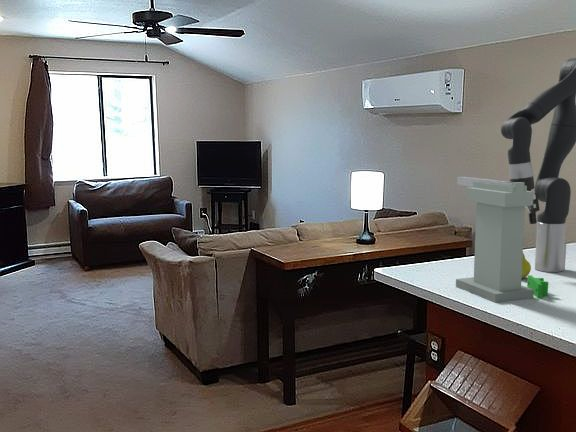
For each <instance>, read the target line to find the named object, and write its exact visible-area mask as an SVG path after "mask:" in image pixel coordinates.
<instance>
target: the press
mask: <svg viewBox="0 0 576 432" xmlns="http://www.w3.org/2000/svg"><path fill="white" fill-rule="evenodd" d="M465 189H466V190H465V191H466V193H465V201H467V202H474V203H476V209H475V212H476V213H475V233H474V234H475V236H474V237H475V238H474V259H473V261H474V263H473V264H474V265H473V277H462V278H456V279H455V288H458V289H461V290H463V291H465V292H468V293H471V294H473V295H476V296H477V297H481V298H483V299H484V300H485V299H486V300H488V301H490V302H493V303H501V302H509V301H515V300H516V301H519V300H524V299H534V297H535V295H534V289H531V288H528V287H527V286H524V285H522V279H523V278H522V258H523V253H524V239H525V238H524V236H525V235H524V234H525V218H526V217H525V214H526V208H525V206H530V205H533V201H534V200H533V194H534V191H532V190H531V191H527V186H524V182H513V183H512V186H508V185H499V184H491V183H482V182H473V187H466V188H465Z"/></svg>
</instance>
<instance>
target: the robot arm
mask: <svg viewBox="0 0 576 432" xmlns="http://www.w3.org/2000/svg"><path fill="white" fill-rule="evenodd" d="M553 110H554V111H553ZM551 111H553V115H552V120H551V123H550V128H549V133H548V138H547V143H546V145H545V146H546V147H545V150H544V155H543V157H542V158H543V159H542V163H541V165H540V168H539V169H540V170H539V172H538V175H537V177H536V181H534V169H533V166H532V162H531V161H532V159H531V153H530V152H531V151H530V147H531V144H532V134H533V127H532V125H534V124H537V123H539V122H541V120H543V119H544V118H545V117H546V116H547V115H548V114H549V113H550V112H551ZM500 133H501V135H502V137H504V138H505V139H506V140H512V146H511V147H509V148H508V149H507V159H508V175H509V182H524V186H527V191H532V190H533V189H534V191H533V205H530V206H525V210H526V211H527V212H528V221H529V224H530V225H535V224H536V236H535V239H536V240H535V252H534V253H535V257H534V269H535V270H537V271H540V272H547V273H559V272H560V273H561V272H563V271H565V270H566V255H567V243H566V242H565V238H566V237H565V235H566V221H567V217H568V215H569V212H570V203H571V196H572V194H571V193H572V191H571V190H572V189H571V185H570V183H569V181H568V180H566V179H565V178H561V177H559V175H560V171H561V168H562V166H563V163H564V161H565V159H566V158H567V157H568V155H569V154H570V152H571V151H572V150H573V149H574V147H575V144H576V57H573V58H568V59H567V60H565V61H564V62H563V63H562V65H561V68H560V70H559V75H558V82H557V83H555V84H554V85H552V86H550V87H549V88H547V89H545V90H543V91H542V92H540V93H539V94H538V95H536V96H535V97H533V99H532V100H531V101H529V102H528V103H527V104H526V105H525V106H524V107H523V108H522V109H520V110H518V111H517V112H515V113H514V114H512V115H510V116H509V117H508V118H507V119H506V120H505V121H503V123H502V125H501V127H500ZM539 202H542V203H545V207H544V210H543V211H542V212H539V211H540V210H541V209H540V204H539ZM537 212H539V213H538V214H536V213H537Z"/></svg>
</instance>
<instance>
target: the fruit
mask: <svg viewBox="0 0 576 432" xmlns="http://www.w3.org/2000/svg"><path fill="white" fill-rule="evenodd" d="M531 270H532V266H531V263H530V262H529V260H527V259H526V256H525V253H524V252H523V258H522V279H524V278H526V277H528V275H529V274H530V273H531Z"/></svg>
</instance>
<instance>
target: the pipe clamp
mask: <svg viewBox="0 0 576 432" xmlns="http://www.w3.org/2000/svg"><path fill="white" fill-rule="evenodd" d="M544 280H545V279H544V277H534V276H533V275H529V274H528V276H527V285H526V287H528V288H531V289H534V297H535V298H537V299H541V300H542V299H543V298H542V297H548V296H549V295H548V293H549V281H546V280H545V281H544Z"/></svg>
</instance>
